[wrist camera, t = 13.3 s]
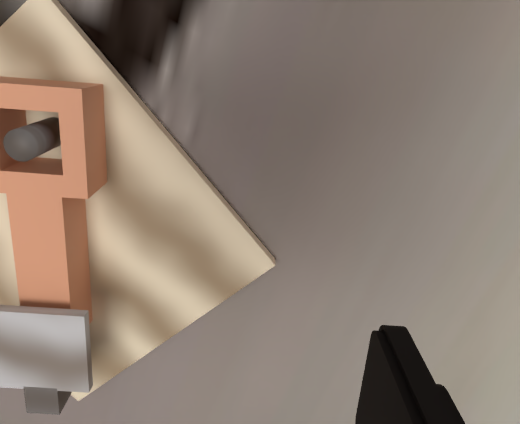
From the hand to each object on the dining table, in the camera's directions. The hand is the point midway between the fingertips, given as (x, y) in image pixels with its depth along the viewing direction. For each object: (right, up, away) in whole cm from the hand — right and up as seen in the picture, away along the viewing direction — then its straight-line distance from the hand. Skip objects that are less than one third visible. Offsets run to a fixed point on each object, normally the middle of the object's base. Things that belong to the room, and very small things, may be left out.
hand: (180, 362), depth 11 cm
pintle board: (-13, +3, +25) cm, 28 cm away
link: (-13, +4, +23) cm, 27 cm away
